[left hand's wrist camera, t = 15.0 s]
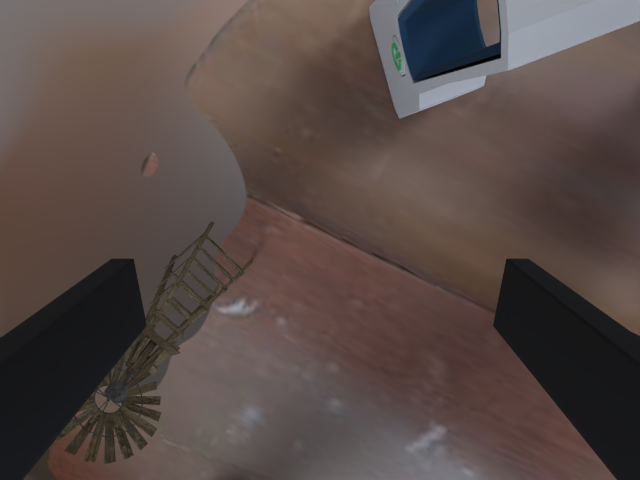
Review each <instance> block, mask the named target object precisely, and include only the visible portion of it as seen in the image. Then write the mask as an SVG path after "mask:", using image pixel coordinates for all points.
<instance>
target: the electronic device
mask: <svg viewBox="0 0 640 480" xmlns="http://www.w3.org/2000/svg"><path fill="white" fill-rule="evenodd" d="M497 2H498V13H499V25H500V42H499V43H496V44H494V45H491V46H488V47H486V45H485V43H484V39H483V36H482V32H481V28H480V22H479V17H478V9H477V0H375V1H374V2H373V3H372V4H371V5H370V7H369V11H370V20H371V24H372V28H373V31H374V35H375V39H376V42H377V46H378V50H379V53H380V57H381V61H382V64H383V68H384V72H385V75H386V79H387V83H388V86H389V90H390V93H391V97H392V101H393V104H394V108H395V111H396V113H397V115H398V117H399V119H400V118H403V117H406V116H408V115H411V114H414V113H416V112H419V111H422V110H424V109H427V108H430V107H432V106H435V105H438V104H440V103H443V102H446V101H448V100H451V99H453V98H456V97H459V96H461V95H464V94H466V93H468V92H471V91H473V90H476V89H478V88H481V87H483V86H484V84H485V78H486V75H490V74H495V73H500V72H505V71H509V70H511V69H514V68H517V67H519V66H522V65H525V64H527V63H530V62H532V61H535V60H538V59H540V58H543V57H546V56H548V55H551V54H554V53H556V52H559V51H562V50H564V49H567V48H569V47H572V46H575V45H577V44H580V43H583V42H585V41H588V40H591V39H593V38H596V37H599V36H601V35H604V34H607V33H609V32H612V31H614V30H617V29H620V28H622V27H625V26H628V25H630V24H633V23H636V22H638V21H640V0H497Z"/></svg>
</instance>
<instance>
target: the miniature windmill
mask: <svg viewBox="0 0 640 480" xmlns="http://www.w3.org/2000/svg"><path fill="white" fill-rule="evenodd" d="M213 224H214V223H213V222H211V223H210V224H209V226H208V227H207V229H206V231H205V232H204V234H202V235H201V236H200V237H199V238H198V239H197V240H196V241H195V242H193V243H192V244H191V245H190V246H189V247H188V248H187V249H186V250H185V251H183V252H182V253H181V254H180V255H179V256H178V257H177V256H176V255H174V256H173V257H172V259H171V261H170V263H169V265H168V266H167V267H166V268H165V270H166V269H167V270H166V273H165V275H164V277H163V279H162V282H161V283H160V284H159V285H158V288H159V289H158V291H157V293H156V295H155V298H154V300H153V301H152V302H151V303H150V304H149V307H150V309H149V312H148V314H147V316H146V318H145V320H146V325H147V326H146V327H145V329H144V330H143V331H142V332H141V334H140V335H139V336H138V337H137V339H136V340H135V341H134V342H133V344H132V345H131V346H130V347H129V349H128V350H127V351H126V352H125V353H124V355H123V356H122V357H121V358H120V360H119V361H118V362H117V364H116V367H115V371H114V374H113V378H112V381H111V371H110V372H109V373H108V375H107V376H106V382H105V379H104V380H103V381H102V382H101V384H100V385H99V386H98V387H97V388H96V390H95V391H94V392H93V393H92V395H91V396H90V397H89V398H88V399H87V401H90V402H86V403H84V404H83V406H82V407H81V408H80V409H79V411H82V410H85V409H88V408H90V409H88V410H86V411H85V412H83V413H82V414H80V415H79V416H77V417H75V416H74V417H75V418H74V419H72V420H71V421H70V422H69V423H68V424H67V426H66V427H65V428H64V429H63V431H62V432H61V433H60V434H59V436H58V437H57V438H56V439H55V440H56V441H58V440H60V439H61V438H62V437H64V436H65V435H66V434H68V433H69V432H70V431H72V430H73V429H74V428H75V427H77V426H78V425H79V424H80V425H81V423H82V422H83V421H85V420H86V419H87V418H89V417H90V416H91V415H92V417H91V418H90V419H89V420H88V422H87V423H86V424H85V425H84V427H83V426H82V425H81V426H82V427H83V428H82V429H81V430H80V432H79V433H78V434H77V435H76V437H75V438H74V439H73V440H72V442H71V443H70V444H69V446H68V447H67V448H66V449H65V451H66V452H68V453H70V454H73V455H75V454H76V452H77V451H78V449H79V448H80V446H81V445H82V443H83V442H84V440H85V439H86V437H87V436H88V434H89V433H92V434H93V436H92V439H91V442H90V445H89V447H88V450H87V453H86V456H85V459H84V461H87V462H95V460H96V456H97V453H98V449H99V445H100V441H101V438H102V434H103V430H104V426H105V436H103V437H105V461H104V464H108V463H112V462H116V460H115V444H114V436H117V439H118V442H119V445H120V449H121V452H122V455H123V458H124V460H125V459H127V458H129V457H131V456H133V455H134V454H133V452H132V449H131V447H130V444H129V441H128V439H127V436H126V434H125V432H126V431H127V432H128V433H129V435H130V436H131V438H132V439H133V441H134V442H135V444H136V445H137V447H138V448H139V450H141V449H142V448H143V447H144V446H146V445H147V444H148V443H147V442H146V440H145V439H144V438H143V437H142V435H141V434H140V433H139V432H138V430H137V429H136V428H135V427H134V425H135V424H136V425H137V426H138V427H140V428H141V429H142V430H143V431H145V432H146V433H147V434H149V435H150V436H151V437H152V436H153V434H154V433H155V431H156V430H157V428H155V427H154V426H152V425H151V424H149V423H148V422H146V421H145V420H144V419H142V418H141V417H140V415H143V416H146V417H148V418H151V419H153V420H156V421H159V418H160V415H161V412H157V411H154V410H151V409H148V408H145V407H142V406H139V405H135V404H151V405H160V398H161V397H157V396H142V394H141V393H145V392H148V391H152V390H156V389H157V385H156V382H152V383H149V384H146V385H143V386H140V387H139V386H138V384H137V383H139V382H140V381H142V380H143V379H145V378H146V377H148V376H149V375H150V373H151V374H153V375H155V373H156V371H157V367H158V366H159V365H160V364H162V363H163V362H164V361H165V360H166V359H168V358H169V357H170V356H172V355H176V354H179V353H180V352H179V351H178V350H179V349H180V348H179V347H178V346H176V345H174V344H175V343H176V340H177V339H178V338H179V337H181V338H184V332H183V331H184V330H185V329H186V328H187V327H188V326H189V325H190V324H191V323H193V322H194V321H195V320H196V319H197V318H199V317H200V316H201V315H202V314H204V313H205V312H206V311H207V310H208V308H209V307H208V306H209V305H210V304H211V303H213V302H214V301H215V300H216V299H218V298H219V297H220V296H221V295H222V294H224V293H225V291H226V290H227V289H228V287H229V286H230V285H231V284H232V283H233V282H234V283H236V279H238V278H239V277H240V276H241V275H243V274H244V273H245V270H246V269H247V268H248V267H249V266H250V265H251V264H252V263H253V261H252V260H251V261H250V262H249V263H248V264H247V265H246V266H244V267H243V268H242V269H241V268H240V267H239V266H238V265H237V264H236V263H235V262H234V261H233V260H232V259H231V258H230V257H229V256H228V255H227V254H226V253H225V252H224V251H223V250H222V249H221V248H220V247H218V246H217V245H216V244H215V243H214V242H213V241H212V240H211V239H210V238H209V237H208V236H207V235H208V233H209V231H210V230H211V228H212V226H213ZM205 239H207V240H208V241H209V242H210V243H211V244H212V245H213V246H214V247H215V248H216V249H217V250H218V251H219V252H220V253H221V254H222V255H223V256H224V257H225V258H226V259H228V260H229V261H230V262H231V263H232V264H233V265H234V266H235V267H236V268H237V269H238V270H239V272H238V273H237V274H236V275H235V276H234V277H232V276H231V275H230V274H229V273H228V272H227V271H226V270H225V269H224V268H223V267H222V266H221V265H220V264H219V263H218V262H216V261H215V260H214V259H213V258H212V257H211V256H210V255H209V254H208V253H207V252H206V251H205V250H204V249H203V248H202V247H201V246H202V244H203V242H204V240H205ZM199 240H200V241H199ZM197 241H199V243H198V244H197V245H196V248H195V250H194V251H193V253H192V255H191V256H190V258H188V259H187V260H186V261H185V262H184V263H183V264H182V265H180V266H179V267H178V268H177V269H176V270H175V271H174V272H172V271H171V270H172V268H173V265H174V263H175V261H176V260H177V259H178V258H180V257H181V256H182V255H183V254H184V253H185V252H186V251H187V250H188V249H190V248H191V247H192V246H193V245H194V244H195V243H196V242H197ZM199 250H200V251H201V252H203V254H205V255H206V256H207V257H208V258H209V259H210V260H211V261H212V262H213V263H214V264H215V265H216V266H217V267H218V268H219V269H220V270H221V271H222V272H223V273H224V274H225V275H226V276H228V277H229V278H230V279H231V280H230V281H229V282H228V283H227V284H226V285H224V284H223V283H222V282H220V281H219V280H218V279H217V278H216V277H215V276H214V275H213V274H212V273H211V272H210V271H209V270H207V269H206V268H205V267H204V266H203V265H202V264H201V263H200V262H199V261H198V260H197V259H196V258H195V256H196V254H197V253H198V251H199ZM192 261H194V262H195V263H196V264H197V265H198V266H199V267H200V268H201V269H202V270H203V271H205V272H206V273H207V274H208V275H209V276H210V277H211V278H212V279H213V280H214V281H215V282H217V283H218V284H219V285H220V286H221V287H222V289H221V290H220V291H219V292H218V293H217V294H216V292H215V291H214V292H213V291H212V290H210V289H209V288H208V287H207V286H206V285H205V284H204V283H203V282H202V281H200V280H199V279H198V278H197V277H196V276H195V275H194V274H193V273H192V272H191V271H189V270H188V268H189V267H190V265H191V263H192ZM185 264H186V265H185ZM184 265H185V267H184V268H183V270H182V272H181V274H180V275H179V277H178V276H177V275H176V274H175V273H176V272H177V271H178V270H179V269H180V268H182V267H183V266H184ZM170 273H171V274H170ZM186 273H187V274H188V275H189V276H191V277H192V278H193V279H194V280H195V281H196V282H197V283H198V284H199V285H201V286H202V287H203V288H204V289H205V290H206V291H207V292H208V293H209V294H210V295H209V296H208V297H207V298H206V300H205V301H204V300H203V299H202V298H201V297H200V296H199V295H198V294H197V293H195V292H194V291H193V290H192V289H191V288H190V287H189V286H188V285H187V284H186V283H185V282H183V281H182V279H183V277H184V275H185V274H186ZM171 276H174V277H175V278H176V279H177V280H176V282H174V283H173V284H172V285H171V286H170V287H168V288H167V289H166V290H165V289H164V287H165V285H166V282H167V280H168V279H169V278H170V277H171ZM178 286H179V287H180V288H181V289H183V290H184V291H185V292H186V293H187V294H188V295H189V296H191V297H192V298H193V299H194V300H195V301H196V302H198V303H199V304H200V306H199V307H198V308H197V309H196V310H195V311H194V312H193V313H191V312H189V311H188V310H187V309H186V308H185V307H184V306H183V305H182V304H180V303H179V302H178V301H177V300H176V299H175V298H174V297H173V295H174V293H175V291H176V290H177V288H178ZM171 288H172V289H171ZM170 289H171V291H170V293H168V291H169V290H170ZM224 290H225V291H224ZM162 292H163V293H162ZM164 294H166V295H167V298H166V299H165V301H164V303H163V305H162V306H161V308H160V310H158V309H157V308H156V306H157V304H158V301H159V299H160V298H161V297H162V296H163V295H164ZM173 301H174V302H173ZM168 304H170V305H171V306H172V307H174V308H175V309H176V310H177V311H178V312H179V313H180V314H182V315H183V316H184V317H185V318H186V320H185V321H184V322H183V323H182V324H181V325H180V326H179V327H177V326H176V325H175V324H174V323H173V322H172V321H170V320H169V319H168V318H167V317H166V316H165V315H163V313H164V311H165V309H166V307H167V305H168ZM181 308H182V309H181ZM154 312H156V313H155V314H153V313H154ZM155 316H156V317H155ZM154 317H155V318H154ZM153 318H154V320H153V322H152V323H151V324H150V321H151V320H152V319H153ZM159 320H161V321H162V322H163V323H164V324H165V325H167V326H168V327H169V328H170V329H171V330H173V331H174V332H173V333H172V334H171V335H170V336H169V337H168V338H167V339H166V340H164V339H163V338H162V337H161V336H160V335H158V334H157V333H156V332H155V331H154V328H155V327H156V325H157V323H158V321H159ZM149 338H150V339H151V340H150V341H149V343H148V344H147V345H146V347H145V348H144V346H145V344H146V342H147V341H148V339H149ZM156 345H158V346H159V348H158V349H157V350H156V351H155V352H154V353H153V354H152V355H151V356H149V355H150V353H151V352H152V350H153V349H154V348H155V346H156ZM143 348H144V349H143ZM142 350H143V351H142ZM124 362H125V363H126V366H127V367H128V368H127V369H126V371H124V370H122V369H121V368H122V366H123V363H124ZM121 370H122V371H124V374H123V375H122V377H121V378H120V380H119V381H118V382H117V380H118V378H119V374H120V371H121ZM134 374H135V375H134ZM131 375H134V376H133V377H131ZM130 377H131V380H130V381H128V380H129V378H130ZM127 381H128V382H127ZM126 382H127V383H126ZM136 384H137V386H138V387H136V388H133V389H130V388H131V387H132V386H134V385H136ZM108 385H109V386H108ZM103 386H108V387H107V388H106V390H105V392H104V393H105V394H106V395H105V394H104V393H103V392H102V391H100V390H99V388H100V387H103ZM128 389H130V390H128ZM97 390H99V391H100V392H101V393H103V394H104V395H103V394H101V393H99V392H97ZM96 392H97V393H99V394H101V395H103V396H105V397H107V401H108V402H109V401H110V400H111V401H113V402H114V403H115V402H117V403H122V405H121V407H120V406H119V405H118V404H117V403H115V404H117V405H118V406H119V407H120V408H119V410H118V411H116V412H113V413H106V412H103V411H104V410H103V411H101V410H100V408H101V407H102V406H103V405H104V404H105V403H106V402H107V401H106V402H105V403H104V404H103V405H102V406H101V407H100V408H98V407H97V405H96V403H95V394H96ZM137 394H141V396H133V395H137ZM108 402H107V404H108ZM132 403H134V404H132ZM107 404H106V405H107ZM105 407H106V406H105ZM104 409H105V408H104ZM99 410H100V411H99ZM79 411H78V412H79ZM132 411H133V412H135V413H138V414H140V415H139V416H138V415H136V414H135V413H133V412H132ZM129 419H130V420H131V421H132V422H133V423H135V424H134V425H133V424H132V423H131V422H130V420H129ZM97 421H98V422H97ZM96 422H97V425H96V428H95V431H94V433H93V432H91V430H92V428H93V427H94V425H95V424H96ZM113 425H114V428H113ZM122 425H123V426H124V428H125V429H126V431H124V429H123V426H122ZM114 429H115V432H116V435H114Z"/></svg>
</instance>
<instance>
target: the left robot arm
mask: <svg viewBox="0 0 640 480" xmlns="http://www.w3.org/2000/svg"><path fill="white" fill-rule="evenodd" d="M146 326H147V325H146V320H145V315H144V309H143V305H142V299H141V294H140V289H139V284H138V279H137V274H136V269H135V264H134V259H111V260H109V261H108V262H107V263H105V264H104V265H102V266H101V267H100V268H98V269H97V270H95V271H94V272H93V273H91V274H90V275H88V276H87V277H86V278H84V279H83V280H81V281H80V282H79V283H77V284H76V285H74V286H73V287H71V288H70V289H69V290H67V291H66V292H65V293H63V294H62V295H60V296H59V297H57V298H56V299H55V300H53V301H52V302H51V303H49V304H48V305H46V306H45V307H43V308H42V309H41V310H39V311H38V312H36V313H35V314H34V315H32V316H31V317H29V318H28V319H27V320H25V321H24V322H22V323H21V324H20V325H18V326H17V327H15V328H14V329H13V330H11V331H10V332H8V333H7V334H6V335H4V336H2V337H0V480H23V479H24V478H25V476H26V475H27V474H28V473H29V472H30V470H31V469H32V468H33V467H34V465H35V464H36V463H37V462H38V460H39V459H40V458H41V457H42V455H43V454H44V453H45V452H46V450H47V449H48V448H49V447H50V445H51V444H52V443H53V442H54V440H55V439H56V438H57V437H58V436H59V434H60V433H61V432H62V431H63V429H64V428H65V427H66V426H67V424H68V423H69V422H70V421H71V419H72V418H73V417H74V416H75V414H76V413H77V412H78V411H79V409H80V408H81V407H82V406H83V404H84V403H85V402H86V401H87V399H88V398H89V397H90V396H91V395H92V393H93V392H94V391H95V390H96V388H97V387H98V386H99V385H100V383H101V382H102V381H103V380H104V378H105V377H106V376H107V375H108V373H109V372H110V371H111V370H112V368H113V367H114V366H115V365H116V363H117V362H118V361H119V360H120V358H121V357H122V356H123V355H124V353H125V352H126V351H127V350H128V349H129V347H130V346H131V345H132V344H133V342H134V341H135V340H136V339H137V337H138V336H139V335H140V334H141V332H142V331H143V330H144V329H145V327H146ZM493 326H494V327H495V329H496V330H497V331H498V332H499V334H500V335H501V336H502V337H503V339H504V340H505V341H506V342H507V344H508V345H509V346H510V347H511V349H512V350H513V351H514V352H515V353H516V355H517V356H518V357H519V358H520V360H521V361H522V362H523V363H524V365H525V366H526V367H527V368H528V370H529V371H530V372H531V373H532V375H533V376H534V377H535V378H536V380H537V381H538V382H539V383H540V385H541V386H542V387H543V388H544V390H545V391H546V392H547V393H548V395H549V396H550V397H551V398H552V399H553V401H554V402H555V403H556V404H557V406H558V407H559V408H560V409H561V411H562V412H563V413H564V414H565V416H566V417H567V418H568V419H569V421H570V422H571V423H572V424H573V426H574V427H575V428H576V429H577V431H578V432H579V433H580V434H581V436H582V437H583V438H584V439H585V440H586V442H587V443H588V444H589V445H590V447H591V448H592V449H593V450H594V452H595V453H596V454H597V455H598V457H599V458H600V459H601V460H602V462H603V463H604V464H605V465H606V467H607V468H608V469H609V470H610V472H611V473H612V474H613V475H614V477H615V478H616V479H617V480H640V336H639V335H637V334H635V333H633V332H630V331H629V330H627V329H626V328H625V327H623V326H622V325H620V324H619V323H618V322H616V321H615V320H613V319H612V318H611V317H609V316H608V315H606V314H605V313H604V312H602V311H601V310H599V309H598V308H597V307H595V306H594V305H592V304H591V303H590V302H588V301H587V300H585V299H584V298H583V297H581V296H580V295H578V294H577V293H576V292H574V291H573V290H571V289H570V288H569V287H567V286H566V285H564V284H563V283H561V282H560V281H559V280H557V279H556V278H554V277H553V276H552V275H550V274H549V273H547V272H546V271H545V270H543V269H542V268H540V267H539V266H538V265H536V264H535V263H533V262H532V261H531V260H529V259H506V264H505V269H504V274H503V279H502V284H501V289H500V294H499V299H498V304H497V309H496V315H495V320H494V325H493Z"/></svg>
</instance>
